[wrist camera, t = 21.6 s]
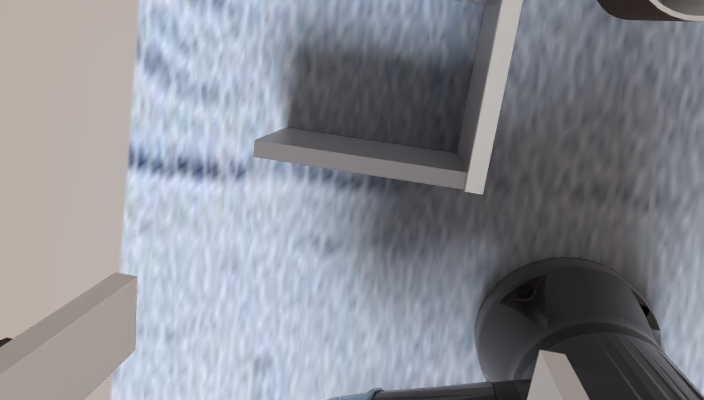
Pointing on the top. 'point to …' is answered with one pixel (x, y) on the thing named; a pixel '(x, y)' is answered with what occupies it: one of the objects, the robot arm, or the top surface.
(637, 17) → the coffee mug
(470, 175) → the bay
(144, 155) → the top surface
